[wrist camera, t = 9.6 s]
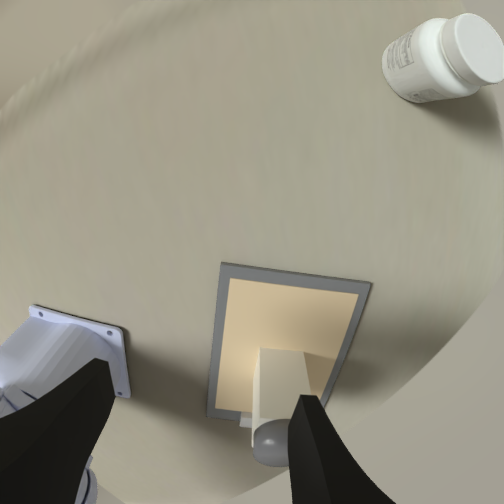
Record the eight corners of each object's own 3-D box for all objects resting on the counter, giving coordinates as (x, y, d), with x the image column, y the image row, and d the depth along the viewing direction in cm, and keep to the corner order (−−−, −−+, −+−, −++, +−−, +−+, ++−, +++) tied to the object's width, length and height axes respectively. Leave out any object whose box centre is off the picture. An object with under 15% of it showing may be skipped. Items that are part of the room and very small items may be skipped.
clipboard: (206, 413, 25) (205, 423, 24) (221, 261, 20) (219, 269, 18) (314, 422, 25) (316, 432, 24) (369, 281, 20) (374, 289, 19)
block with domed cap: (251, 379, 22) (249, 465, 15) (258, 346, 21) (258, 436, 14) (294, 383, 23) (304, 467, 15) (304, 350, 21) (321, 438, 14)
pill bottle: (448, 84, 15) (526, 72, 8) (409, 115, 16) (486, 110, 9) (409, 30, 14) (476, -7, 7) (366, 59, 15) (427, 20, 8)
